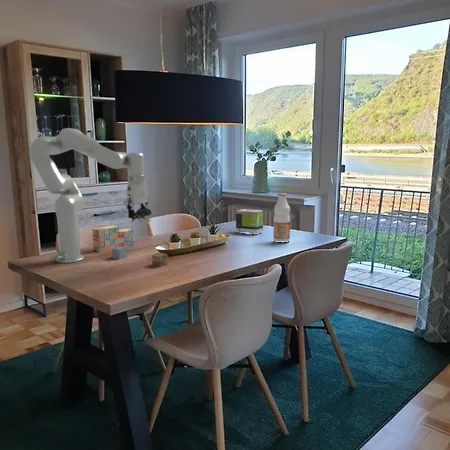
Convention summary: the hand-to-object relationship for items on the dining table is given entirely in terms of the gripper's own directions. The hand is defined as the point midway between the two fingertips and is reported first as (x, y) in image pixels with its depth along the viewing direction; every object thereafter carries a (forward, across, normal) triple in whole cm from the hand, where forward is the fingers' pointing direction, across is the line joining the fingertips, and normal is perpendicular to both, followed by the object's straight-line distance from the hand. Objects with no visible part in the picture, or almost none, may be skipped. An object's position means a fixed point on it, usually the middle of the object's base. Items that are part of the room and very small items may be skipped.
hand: (137, 216), depth 209 cm
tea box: (+22, +91, -10) cm, 94 cm away
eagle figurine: (+3, +2, 0) cm, 3 cm away
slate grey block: (+22, 0, +13) cm, 25 cm away
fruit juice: (+21, +77, -39) cm, 89 cm away
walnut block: (+22, 0, -13) cm, 25 cm away
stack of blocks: (+22, +14, +31) cm, 40 cm away
